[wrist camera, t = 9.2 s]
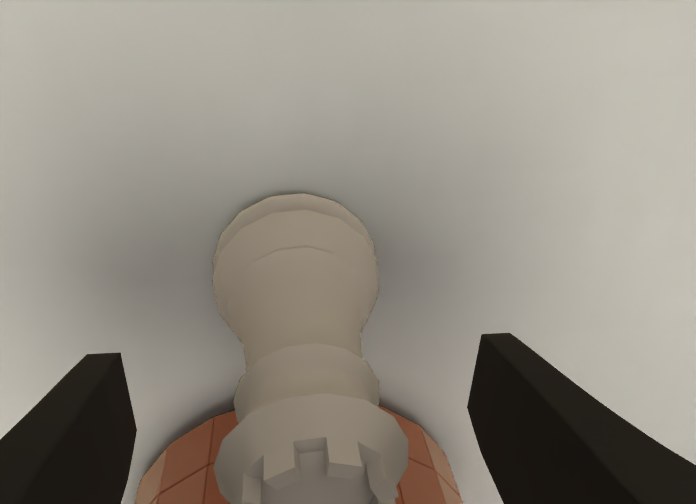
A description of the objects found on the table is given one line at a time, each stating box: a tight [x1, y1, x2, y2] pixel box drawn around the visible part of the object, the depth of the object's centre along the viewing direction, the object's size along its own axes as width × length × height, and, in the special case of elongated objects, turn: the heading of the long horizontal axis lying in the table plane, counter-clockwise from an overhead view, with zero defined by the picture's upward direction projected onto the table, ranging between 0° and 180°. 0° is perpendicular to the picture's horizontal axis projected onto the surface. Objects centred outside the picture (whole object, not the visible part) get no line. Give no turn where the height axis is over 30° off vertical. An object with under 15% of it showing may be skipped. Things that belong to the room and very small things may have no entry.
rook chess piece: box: [212, 193, 408, 504], centre depth 12 cm, size 4×4×8 cm
